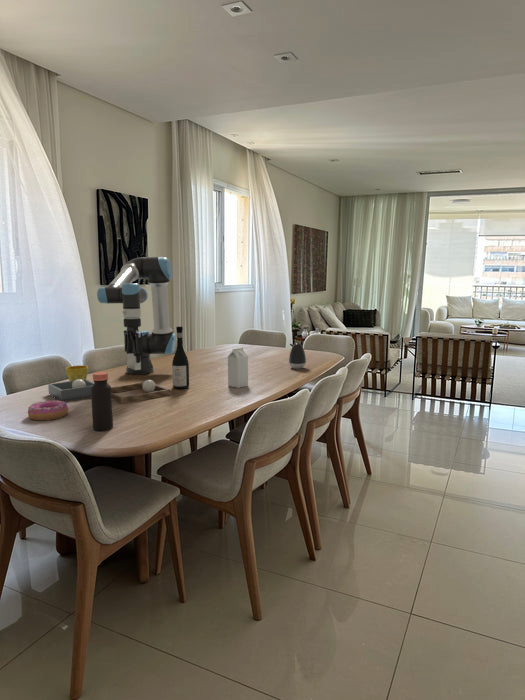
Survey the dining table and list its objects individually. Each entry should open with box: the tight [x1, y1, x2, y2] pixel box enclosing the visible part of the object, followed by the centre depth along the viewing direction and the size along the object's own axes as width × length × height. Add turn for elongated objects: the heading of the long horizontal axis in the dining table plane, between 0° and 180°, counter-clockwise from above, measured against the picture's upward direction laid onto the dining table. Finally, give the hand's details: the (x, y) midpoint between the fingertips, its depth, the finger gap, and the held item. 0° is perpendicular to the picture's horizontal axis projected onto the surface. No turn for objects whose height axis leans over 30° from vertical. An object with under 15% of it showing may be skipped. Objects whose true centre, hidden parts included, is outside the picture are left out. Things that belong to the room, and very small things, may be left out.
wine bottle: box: [171, 326, 190, 390], centre depth 230 cm, size 8×8×30 cm
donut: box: [27, 399, 69, 422], centre depth 184 cm, size 14×14×5 cm
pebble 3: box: [141, 379, 156, 393], centre depth 222 cm, size 6×6×6 cm
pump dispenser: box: [288, 342, 307, 370], centre depth 281 cm, size 10×10×15 cm
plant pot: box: [65, 364, 89, 381], centre depth 234 cm, size 10×10×10 cm
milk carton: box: [227, 347, 249, 389], centre depth 234 cm, size 7×7×19 cm
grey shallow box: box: [47, 379, 94, 402], centre depth 216 cm, size 17×17×5 cm
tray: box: [111, 382, 171, 404], centre depth 218 cm, size 24×22×2 cm
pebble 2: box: [126, 356, 135, 369], centre depth 216 cm, size 6×6×6 cm
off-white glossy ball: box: [72, 379, 86, 388], centre depth 218 cm, size 6×6×6 cm
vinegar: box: [90, 371, 114, 432], centre depth 167 cm, size 7×7×20 cm
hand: (134, 368), depth 216 cm, fingers closed on pebble 2, 6 cm apart
